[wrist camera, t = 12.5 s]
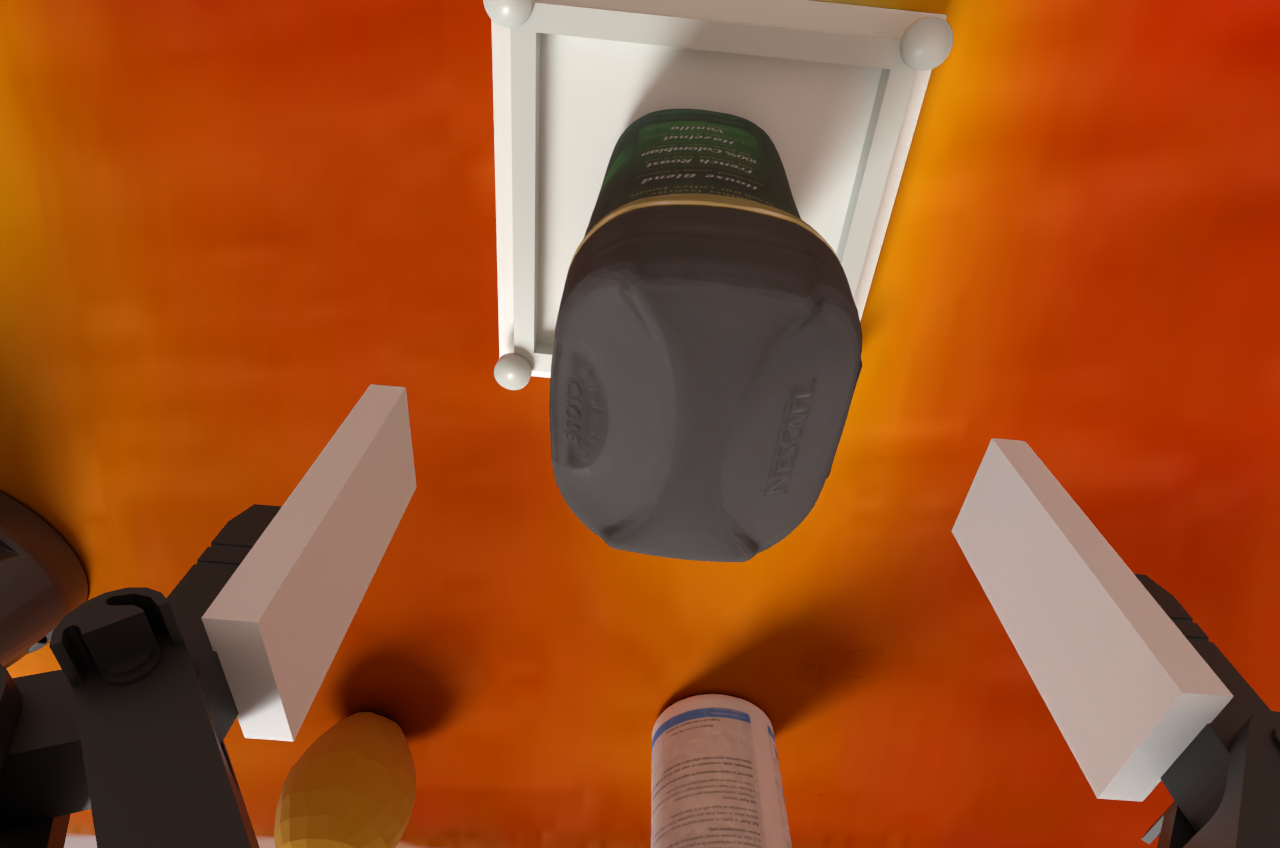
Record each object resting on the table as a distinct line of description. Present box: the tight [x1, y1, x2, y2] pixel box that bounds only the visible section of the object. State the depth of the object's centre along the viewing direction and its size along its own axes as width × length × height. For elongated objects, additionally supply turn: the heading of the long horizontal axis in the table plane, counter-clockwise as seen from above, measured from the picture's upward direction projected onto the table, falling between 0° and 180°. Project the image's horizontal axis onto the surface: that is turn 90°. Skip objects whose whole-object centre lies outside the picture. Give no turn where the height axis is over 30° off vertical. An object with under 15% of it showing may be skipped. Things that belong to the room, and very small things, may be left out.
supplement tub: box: [651, 694, 792, 848], centre depth 48 cm, size 10×10×15 cm
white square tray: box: [483, 0, 953, 390], centre depth 32 cm, size 18×18×3 cm
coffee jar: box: [550, 109, 862, 562], centre depth 24 cm, size 10×8×19 cm
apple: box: [274, 712, 416, 848], centre depth 51 cm, size 10×10×12 cm
